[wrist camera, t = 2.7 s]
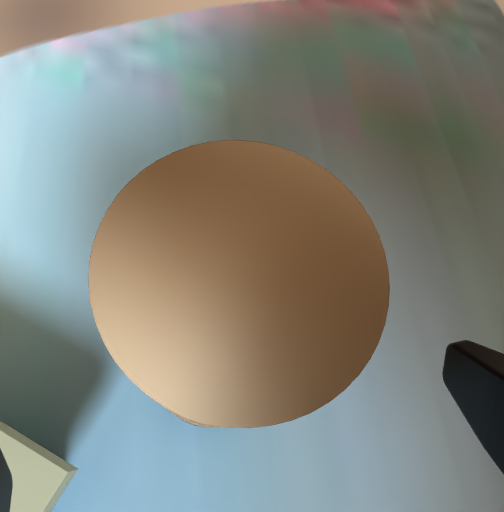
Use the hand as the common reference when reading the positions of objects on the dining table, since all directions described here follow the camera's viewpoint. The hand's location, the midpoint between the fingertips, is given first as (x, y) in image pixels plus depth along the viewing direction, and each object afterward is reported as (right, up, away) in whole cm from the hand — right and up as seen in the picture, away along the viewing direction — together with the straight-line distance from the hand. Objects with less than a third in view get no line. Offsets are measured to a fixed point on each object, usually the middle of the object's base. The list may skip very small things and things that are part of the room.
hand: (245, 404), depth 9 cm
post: (-2, -2, +9) cm, 10 cm away
